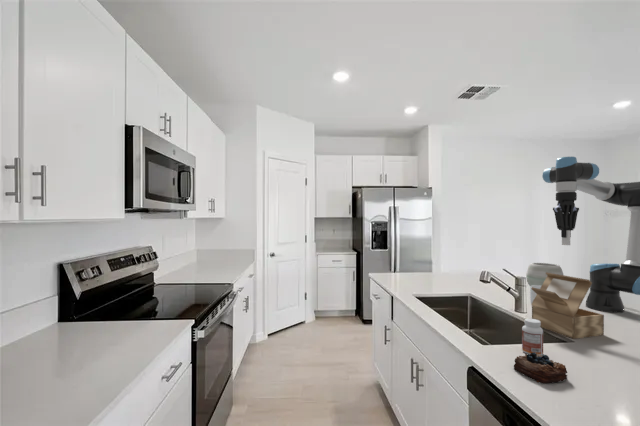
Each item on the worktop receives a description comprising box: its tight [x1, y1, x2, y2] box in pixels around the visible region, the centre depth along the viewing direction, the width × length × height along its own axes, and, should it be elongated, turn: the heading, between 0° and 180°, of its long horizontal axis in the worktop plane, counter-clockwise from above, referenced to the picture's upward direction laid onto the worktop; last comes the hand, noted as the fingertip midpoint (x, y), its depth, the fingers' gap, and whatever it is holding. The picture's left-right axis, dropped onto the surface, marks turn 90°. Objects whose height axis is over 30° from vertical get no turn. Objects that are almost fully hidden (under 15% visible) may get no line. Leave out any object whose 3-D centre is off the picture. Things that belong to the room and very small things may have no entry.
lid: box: [530, 272, 592, 317], centre depth 137 cm, size 16×18×9 cm
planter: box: [525, 262, 564, 287], centre depth 172 cm, size 16×16×22 cm
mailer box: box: [531, 306, 605, 340], centre depth 139 cm, size 16×18×8 cm
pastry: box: [513, 352, 568, 385], centre depth 100 cm, size 11×12×6 cm
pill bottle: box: [521, 318, 544, 356], centre depth 115 cm, size 6×6×11 cm
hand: (566, 244), depth 149 cm, fingers closed
